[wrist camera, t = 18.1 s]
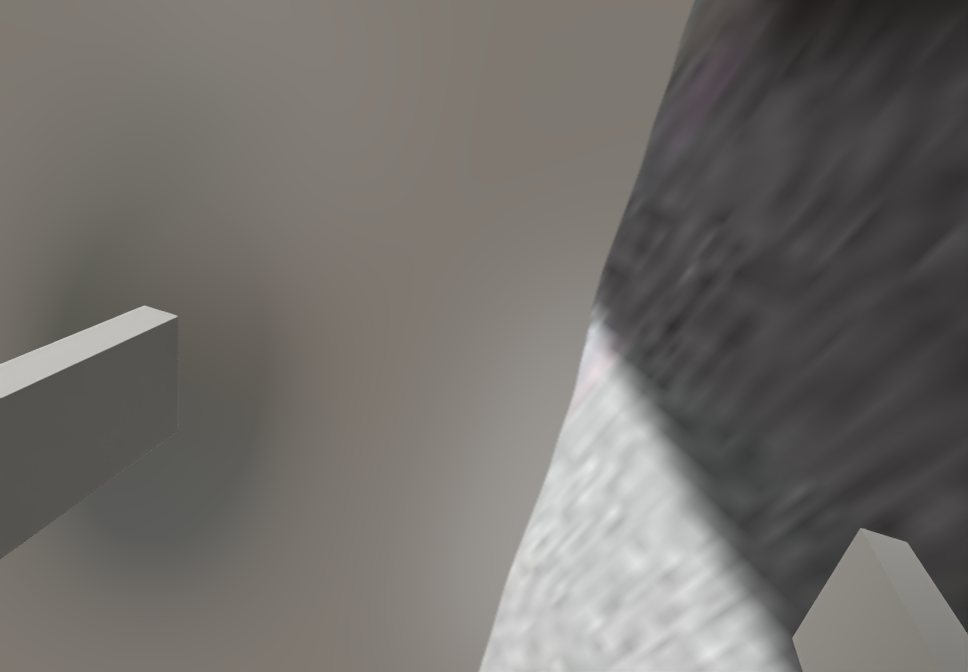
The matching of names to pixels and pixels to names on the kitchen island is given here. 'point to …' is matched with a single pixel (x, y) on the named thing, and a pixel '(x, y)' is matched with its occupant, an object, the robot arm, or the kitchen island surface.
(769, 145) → the kitchen island surface
